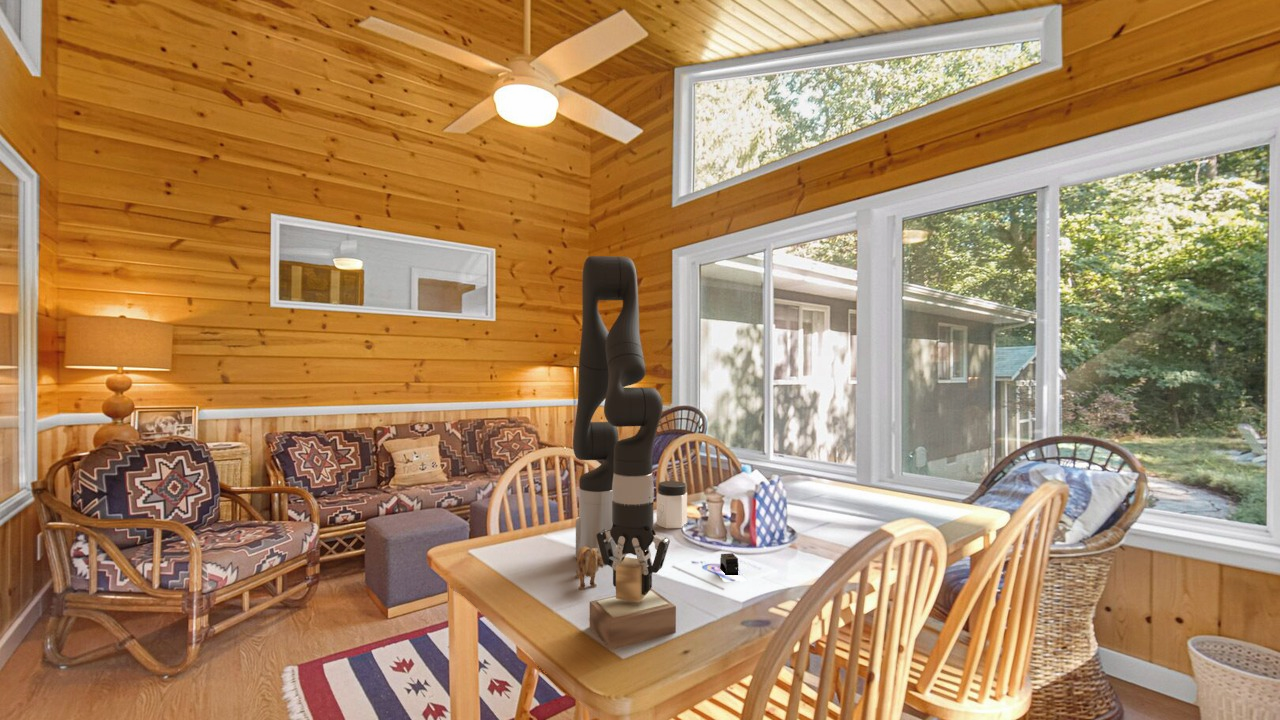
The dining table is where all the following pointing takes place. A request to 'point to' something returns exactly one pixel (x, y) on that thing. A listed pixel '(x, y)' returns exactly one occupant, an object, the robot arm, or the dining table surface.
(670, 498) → the jar
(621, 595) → the oak block
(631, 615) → the plinth
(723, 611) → the dining table surface
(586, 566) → the lion figurine
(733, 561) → the black block
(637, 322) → the robot arm
